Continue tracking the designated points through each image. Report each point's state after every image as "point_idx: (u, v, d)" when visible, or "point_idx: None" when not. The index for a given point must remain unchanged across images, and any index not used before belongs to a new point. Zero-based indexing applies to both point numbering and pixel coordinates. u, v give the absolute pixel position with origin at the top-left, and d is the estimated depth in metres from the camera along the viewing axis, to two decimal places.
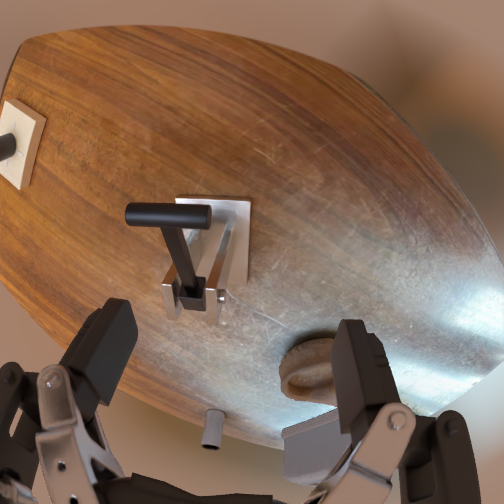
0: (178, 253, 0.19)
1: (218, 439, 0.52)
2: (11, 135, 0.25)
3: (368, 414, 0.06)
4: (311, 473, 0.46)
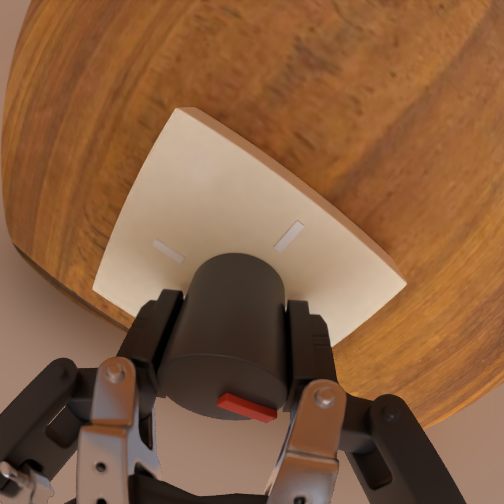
0: None
1: None
2: (200, 269, 0.11)
3: (299, 389, 0.07)
4: None
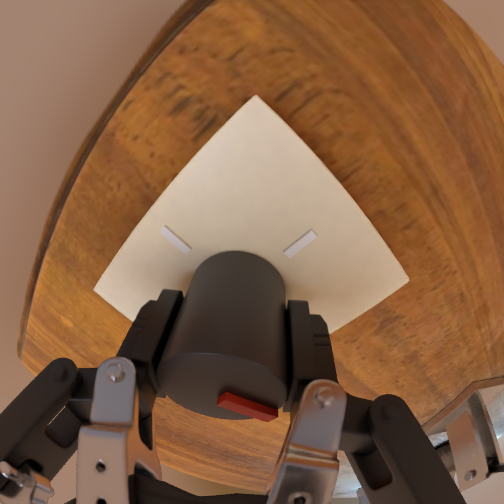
0: None
1: None
2: (199, 269, 0.11)
3: (299, 389, 0.07)
4: None
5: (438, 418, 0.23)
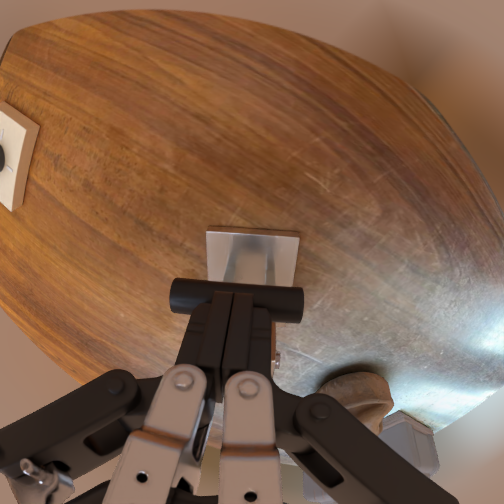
0: None
1: None
2: None
3: None
4: None
5: None
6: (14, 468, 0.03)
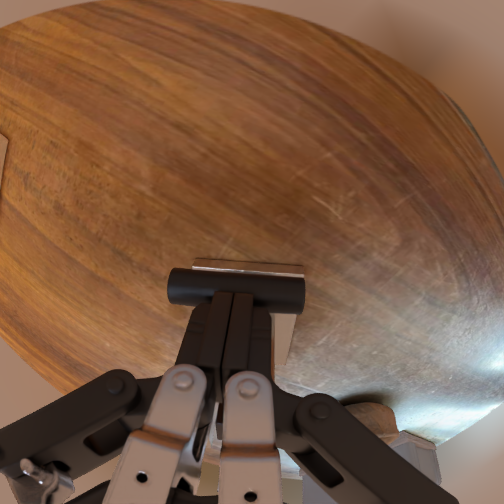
0: None
1: None
2: None
3: None
4: None
5: None
6: (14, 468, 0.03)
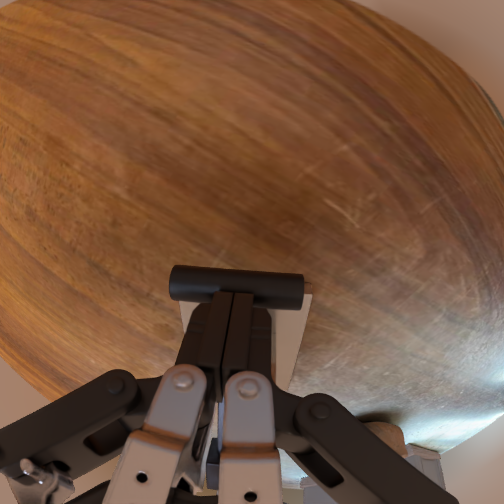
0: None
1: None
2: None
3: None
4: None
5: None
6: (14, 468, 0.03)
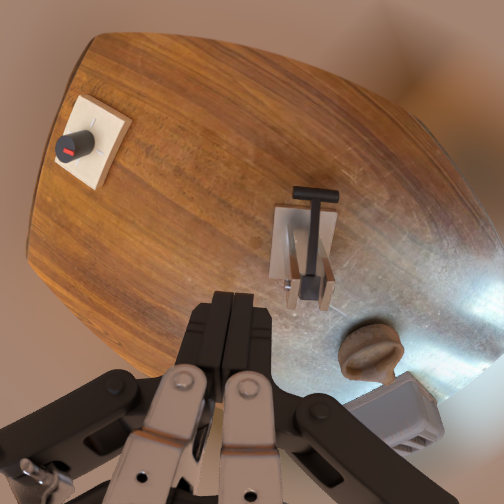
0: (316, 223, 0.31)
1: None
2: None
3: None
4: None
5: (271, 250, 0.42)
6: (14, 468, 0.03)
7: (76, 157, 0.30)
